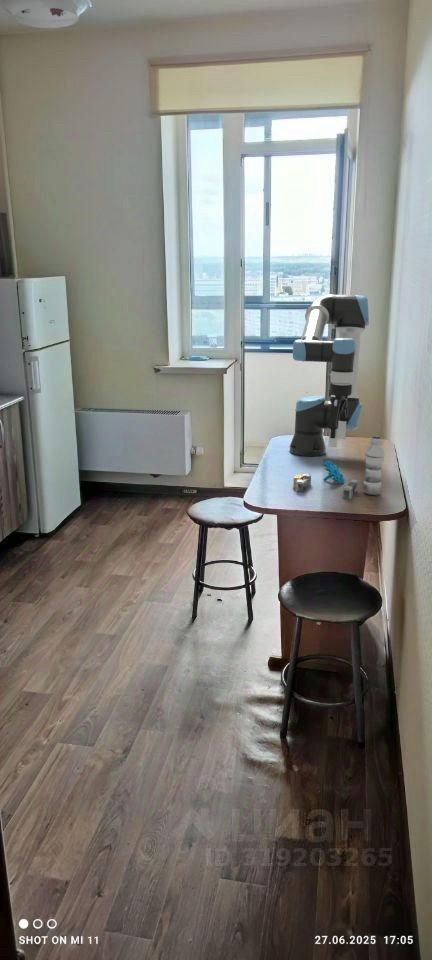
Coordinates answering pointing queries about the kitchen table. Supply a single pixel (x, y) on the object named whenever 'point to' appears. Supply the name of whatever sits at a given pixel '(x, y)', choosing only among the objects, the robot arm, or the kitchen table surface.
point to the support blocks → (305, 481)
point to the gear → (333, 472)
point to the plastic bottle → (373, 467)
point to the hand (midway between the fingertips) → (337, 442)
